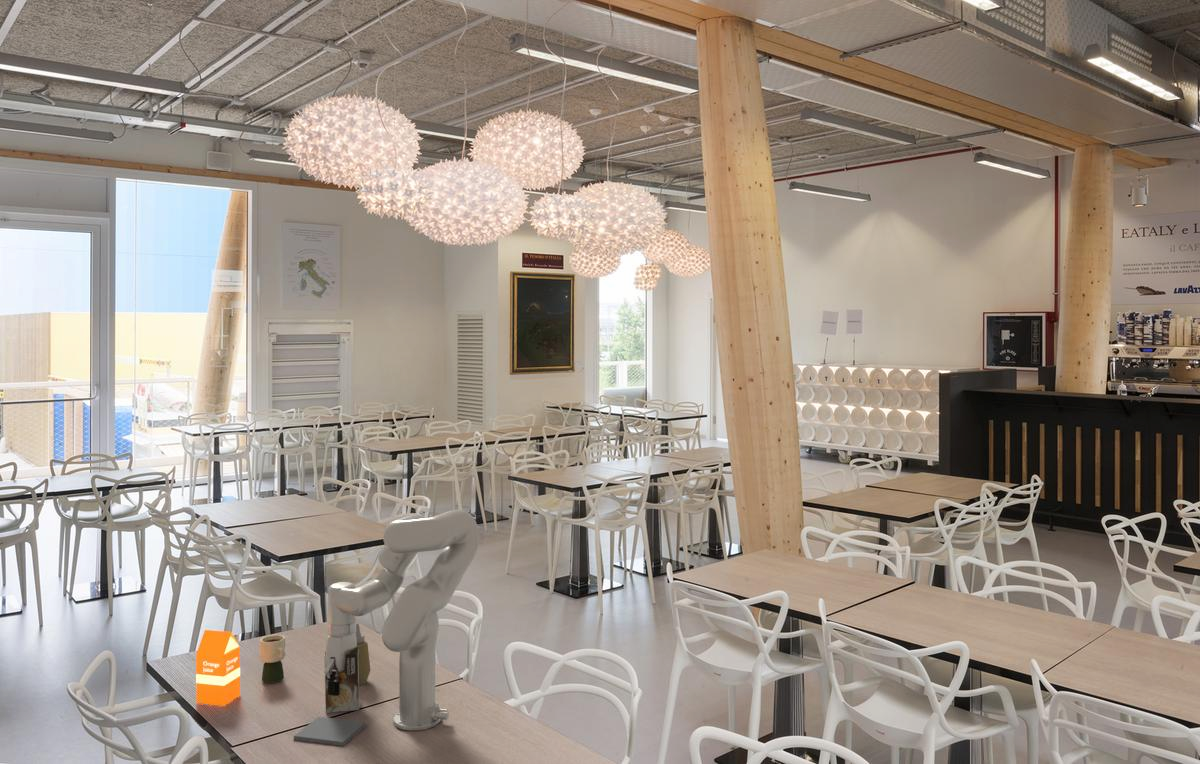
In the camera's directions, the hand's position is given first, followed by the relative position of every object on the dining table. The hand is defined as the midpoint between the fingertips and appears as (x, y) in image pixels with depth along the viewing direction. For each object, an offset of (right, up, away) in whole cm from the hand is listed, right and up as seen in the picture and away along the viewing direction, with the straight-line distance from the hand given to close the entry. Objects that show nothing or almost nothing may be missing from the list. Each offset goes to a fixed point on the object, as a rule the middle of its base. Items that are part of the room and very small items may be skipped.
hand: (342, 688), depth 244 cm
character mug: (-26, -5, +19) cm, 33 cm away
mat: (+2, -6, -15) cm, 17 cm away
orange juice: (-37, -5, +5) cm, 37 cm away
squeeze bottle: (-1, -5, +18) cm, 19 cm away
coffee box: (0, -6, 0) cm, 6 cm away
